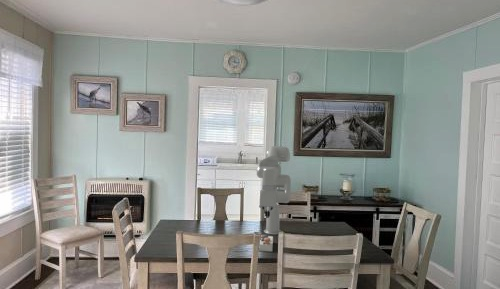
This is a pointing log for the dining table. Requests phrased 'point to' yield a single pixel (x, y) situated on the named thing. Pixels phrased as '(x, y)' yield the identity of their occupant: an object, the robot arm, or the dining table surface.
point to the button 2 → (267, 241)
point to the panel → (266, 247)
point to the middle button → (264, 237)
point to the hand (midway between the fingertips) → (267, 217)
